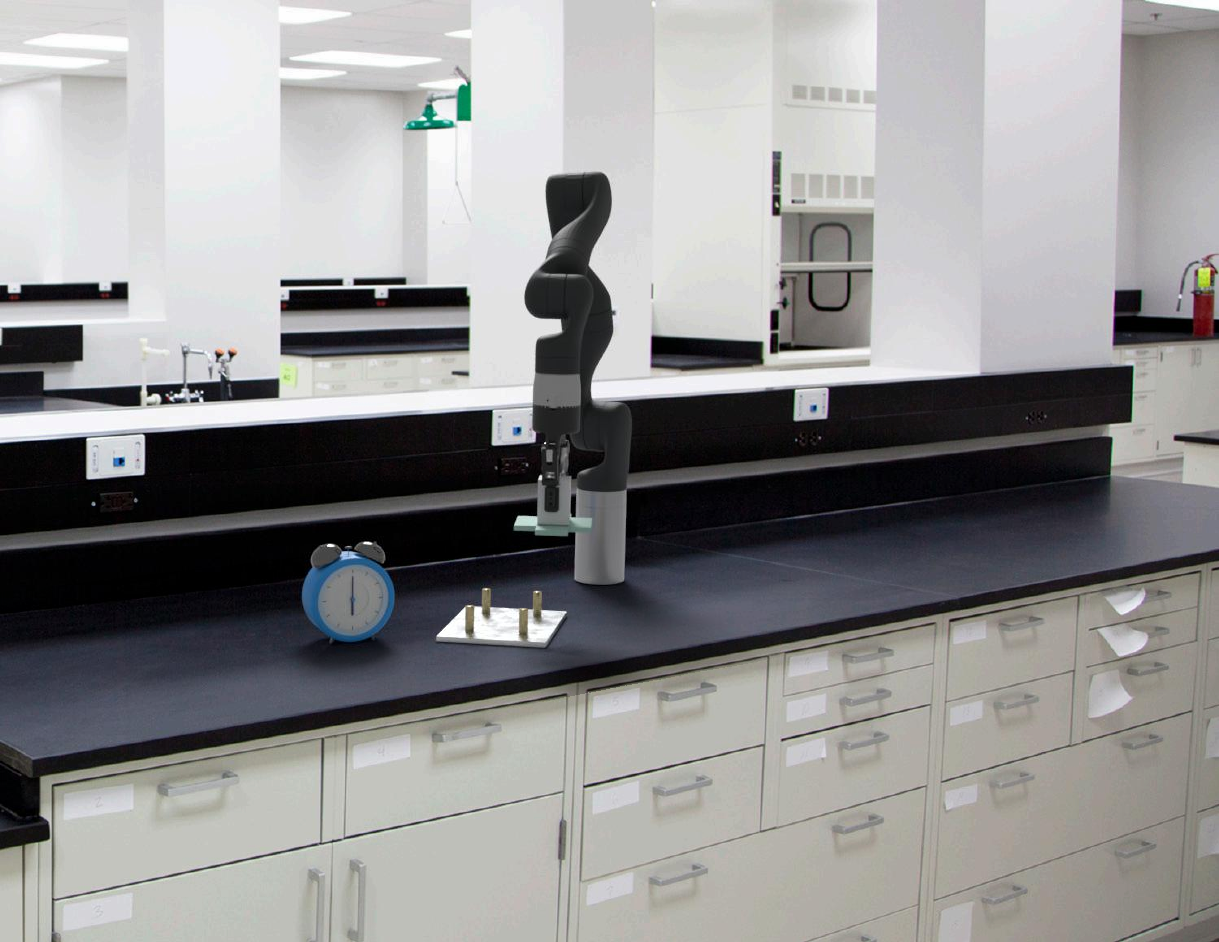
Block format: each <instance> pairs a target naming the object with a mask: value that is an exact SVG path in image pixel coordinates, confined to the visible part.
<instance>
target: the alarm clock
mask: <svg viewBox="0 0 1219 942" xmlns="http://www.w3.org/2000/svg"><path fill="white" fill-rule="evenodd" d="M344 549H345V550H347V551H342V549H341V547H339V546H338V545H337V544H335V543H325V544H322V545H321V544H320V545H319V546H318V547H317V548H316V549H315V550H314V551H313V552H312V555H311V557H310V563H311V566H312V568H311V569H310V570H309V571H308V574H307V575H306V577H305V580H304V582H303V584H302V585H303V586H302V591H301V600H302V601H301V602H302V606H303V610H304V612H305V614H306V616H307V618H308V619H309V621H310V623H312V624H313V625H314V626H315V627H316V628H318V630H320V631H321V632H323V634H324V635H326V636H328V637H329V638H330V640H329V645H332V644H333V643H334V641H335V640H336V641H338V642H345V643H356V642H360V641H363V640H366V639H369V638H371V640H372V641H375V637H374V635H375V634H377V633H378V632H379V631H380V630H381V629H382V628H383V627H384V626H385V625H386V624H387V622H388V620H390V617H391V615H392V613H393V610H394V606H395V597H396V596H395V589H394V583H393V581H392V579H391V578H390V576H389V575H390V574H389V573H388V572H387V571H386V570H385V569H384V567H382V566H381V565H380V564H384V562H385V561H386V555H385V552H384V550H383V549H382V547H381V546H380V545H378V544H377V541H374V542H371V541H361V542H358V544H356V545H355V547H354V550H355V551H357V552H355V551H350V549H353V546H352V545H349V546H344ZM370 558H371V559H370ZM374 560H375V561H374ZM377 562H378V563H380V564H378V563H377Z"/></svg>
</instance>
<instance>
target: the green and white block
mask: <svg viewBox="0 0 1219 942" xmlns="http://www.w3.org/2000/svg"><path fill="white" fill-rule="evenodd" d="M548 478H554V476H550V475H548ZM541 480H542V474H540V475H539V476H538V479H537V507H536V509H537V511H536V513H537V515H536V516H533V515H532V516H531V515H530V516H529V515H518V516H517V517H516V520H515V522H514V525H513V531H517V532H521V531H522V532H534V535H535V536H545V537H546V536H547V537H549V536H551V537H552V536H555V537H569V533H576V532H583V533H591V528H592V518H576V516H575V517H574V516H573V517H572V513H571V501H572V500H571V499H572V475H567V476H561V477H560V483H561V486H560V488H559V510H558V511H557V512H546V511H545V510H544V502H545V488H544V486H542V483H541Z"/></svg>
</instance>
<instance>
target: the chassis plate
mask: <svg viewBox="0 0 1219 942" xmlns="http://www.w3.org/2000/svg"><path fill="white" fill-rule="evenodd" d="M481 590H482V591H481V606H475V605H472V604H471V605H470V604H468V605H465V606H464V608H463V609H462V610H461V611H460V612H459V613H458V614H457V615H456V616H454V618H453V619H452V620H450V622H449V623H448V624H447V625H446V626H445V627H444V628H443V629H442V630H441V631H439V633H438V634H437V635H436V637H435V641H436V642H441V643H443V642H444V643H457V644H458V643H459V644H460V643H461V644H474V645H475V644H476V645H477V644H478V645H490V646H491V645H493V646H494V645H495V646H507V647H509V646H510V647H511V646H512V647H529V648H542V649H543V648H546V647H547V646H548V645H549V643H550V642H551V640H552V639H553V638H554V635H555V634H556V633H557V631H558V630H559V628H560V627H561V625H562V624H563V623H564V621H565V620H566V618H567V615H568V614H567V613H568V612H567V611H565V610H548V609H546V610H544V609H542V605H543V601H542V600H543V592H542V591H540V590H534V591H532V593H533V595H532V597H533V598H532V609H529V608H526V607H520V608H513V607H512V608H509V607H493V606H491V604H492V602H491V599H492V597H491V593H492V590H491V588H489V587H488V588H487V587H484V588H482V589H481Z"/></svg>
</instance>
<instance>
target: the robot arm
mask: <svg viewBox="0 0 1219 942" xmlns="http://www.w3.org/2000/svg"><path fill="white" fill-rule="evenodd" d="M611 187H612V186H611V182H610V180H609V177H608V176H607V175H606V174H605V173H603V172H602V171H594V170H593V171H592V170H590V171H588V170H587V171H572V172H571V171H570V172H569V171H568V172H557V173H552V174H550V175H549V176H548V178H547V180H546V183H545V204H546V205H545V206H546V212H547V218H548V224H549V230H550V236H551V241H550V243H549V246H548V248H547V251H546V256H545V259H544V260H543V262H542V263H541V264H540V266H539V267H538V268H536V270H534V272H533V273H532V275H531V276H530V277H529V279H528V281H527V282H526V286H525V290H524V295H523V296H524V297H523V299H524V304H525V307H526V310H527V311H528V313H529V314H530V315H531V316H533V317H534V318H535V319H536V318H537V319H540V320H560V324H561V331H560V332H556V333H550V334H546V335H542V336H540V337H538V338H537V339H536V343H535V351H534V353H535V354H534V355H535V357H534V360H535V361H534V363H535V364H534V378H533V379H534V380H533V385H532V417H531V418H532V420H531V421H532V423H531V427H532V428H531V429H532V431H533V432H534V433H537V434H544V435H545V436H546V437H545V442H544V444H542V445H541V449H540V450H541V452H540V454H541V475H542V480H541V483H542V486H544V488H545V502H544V510H545V511H546V512H557V511H558V510H559V488H560V486H561V483H560V477H561V476H569V472H568V469H569V454H570V451H571V449H570V442H571V443H572V445H573V446H574V447H575V448H576V449H577V450H581V451H590V452H603V453H604V452H605V454H604V459H603V461H602V462H601V463H600V464H598V465H596V466H594V467H590V468H586V469H584V470H581V471H579V472H578V473H577V476H576V501H575V503H576V504H575V518H592V528H591V533H583V532H575V548H574V580H575V581H576V582H578V583H582V584H588V585H598V586H599V585H603V586H604V585H605V586H607V585H616V584H621V583H623V582H624V581H625V563H626V562H625V561H626V558H625V557H626V531H627V530H626V528H627V527H626V524H627V523H626V521H627V520H626V519H627V489H628V477H629V476H628V475H629V471H630V455H631V453H630V452H631V442H632V433H633V429H632V428H633V419H632V412H631V409H630V408H629V406H628V405H627V404H626V403H624V402H619V401H609V400H608V401H607V400H593V397H592V379H593V377H594V374H595V371H596V368H597V367H598V366H599V364H600V361H601V359H602V358H603V356H604V354H605V352H606V351H607V349H608V347H609V345H610V343H611V341H612V337H613V335H614V318H613V307H612V298H611V295H610V292H609V290H608V288H606V286H605V284H604V282H602V280H601V278H600V277H599V276H598V275H597V274H596V272H594V270H593V269H592V268H591V266H590V260H591V257H592V253H593V251H594V248H595V246H596V244H597V242H598V240H599V239H600V237H601V235H603V234H602V233H603V231H604V230H605V228H606V226H607V224H608V223H609V220H610V217H611V212H612V208H613V207H612V205H613V203H612V202H613V198H612V197H613V195H612V189H611ZM567 435H569V437H570V439H569V440H567V439H566V438H567V437H566V436H567ZM570 440H571V441H570ZM548 476H554V478H548Z"/></svg>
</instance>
